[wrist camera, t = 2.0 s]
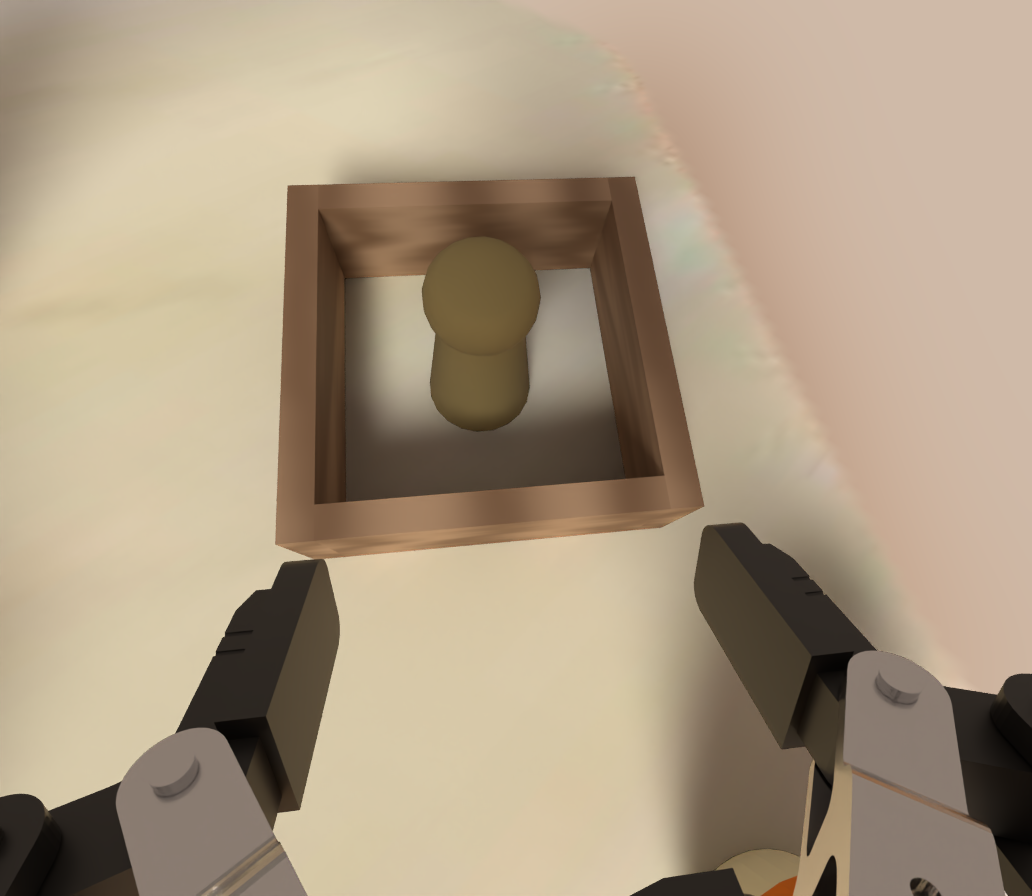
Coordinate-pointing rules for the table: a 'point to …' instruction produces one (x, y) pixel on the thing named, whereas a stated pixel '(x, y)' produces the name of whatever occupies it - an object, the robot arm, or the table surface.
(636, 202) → the walnut crate
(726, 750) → the table surface
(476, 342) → the olive pawn
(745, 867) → the reusable coffee cup
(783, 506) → the table surface
